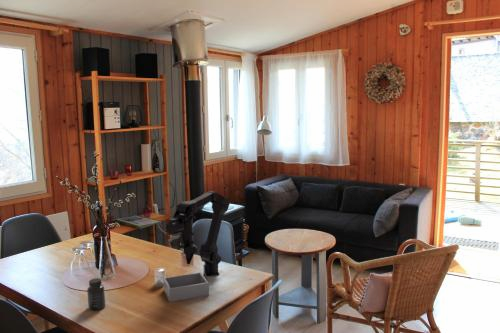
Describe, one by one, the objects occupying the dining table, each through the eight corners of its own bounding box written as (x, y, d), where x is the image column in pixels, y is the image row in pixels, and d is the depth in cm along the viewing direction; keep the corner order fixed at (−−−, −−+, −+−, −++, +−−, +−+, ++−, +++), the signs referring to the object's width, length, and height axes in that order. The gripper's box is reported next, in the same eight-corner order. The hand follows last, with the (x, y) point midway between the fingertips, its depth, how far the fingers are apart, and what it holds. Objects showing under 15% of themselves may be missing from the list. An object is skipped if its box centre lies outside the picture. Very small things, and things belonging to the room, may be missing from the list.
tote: (200, 283, 209) (200, 272, 208) (209, 295, 196) (208, 282, 195) (163, 289, 202) (163, 277, 201) (169, 302, 190) (169, 289, 189)
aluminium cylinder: (164, 281, 212) (164, 267, 211) (166, 285, 207) (166, 271, 206) (154, 283, 210) (153, 268, 209) (155, 287, 206) (155, 272, 205)
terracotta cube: (191, 261, 209) (191, 251, 208) (193, 265, 204) (193, 255, 204) (180, 263, 207) (180, 252, 207) (182, 266, 203) (182, 256, 202)
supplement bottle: (90, 304, 188) (89, 277, 187) (107, 303, 189) (105, 276, 187) (86, 311, 182) (84, 283, 180) (103, 310, 182) (101, 283, 181)
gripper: (165, 226, 210) (166, 257, 212) (172, 237, 192) (173, 271, 194) (189, 224, 213) (189, 255, 216) (197, 234, 196) (198, 268, 198)
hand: (187, 262), depth 206 cm, fingers closed on terracotta cube, 5 cm apart
